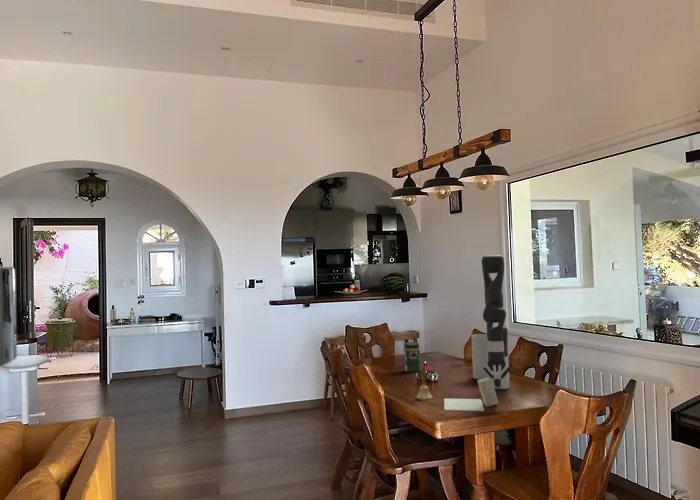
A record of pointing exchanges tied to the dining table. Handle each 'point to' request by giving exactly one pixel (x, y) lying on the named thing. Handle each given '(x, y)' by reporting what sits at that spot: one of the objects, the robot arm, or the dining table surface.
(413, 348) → the coffee jar
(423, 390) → the hand bell
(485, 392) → the skincare box
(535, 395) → the dining table surface
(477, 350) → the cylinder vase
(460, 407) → the mat
